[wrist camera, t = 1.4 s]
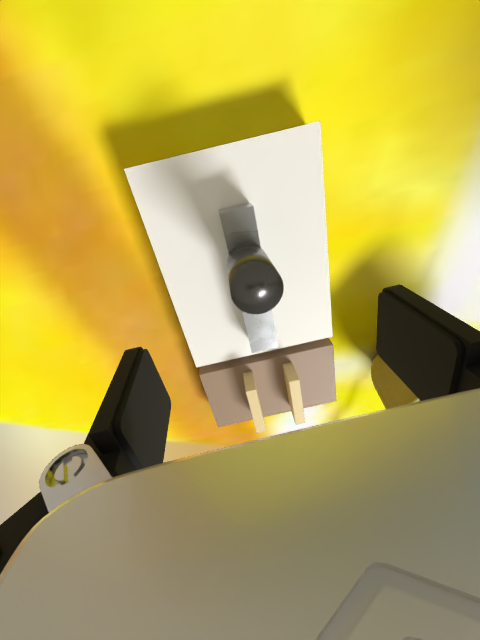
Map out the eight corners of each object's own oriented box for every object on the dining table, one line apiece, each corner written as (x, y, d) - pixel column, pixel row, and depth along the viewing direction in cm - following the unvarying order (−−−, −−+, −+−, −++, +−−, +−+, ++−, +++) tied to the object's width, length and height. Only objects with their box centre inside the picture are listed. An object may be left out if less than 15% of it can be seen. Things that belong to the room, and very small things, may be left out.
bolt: (254, 200, 21) (273, 214, 15) (277, 332, 27) (297, 384, 20) (213, 210, 21) (214, 229, 15) (244, 339, 27) (255, 393, 20)
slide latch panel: (307, 126, 22) (336, 113, 17) (326, 383, 35) (346, 420, 30) (134, 169, 22) (111, 168, 17) (217, 407, 35) (218, 448, 30)
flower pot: (348, 361, 34) (390, 420, 26) (407, 308, 31) (475, 357, 23) (391, 392, 37) (440, 453, 29) (448, 347, 34) (520, 401, 26)
